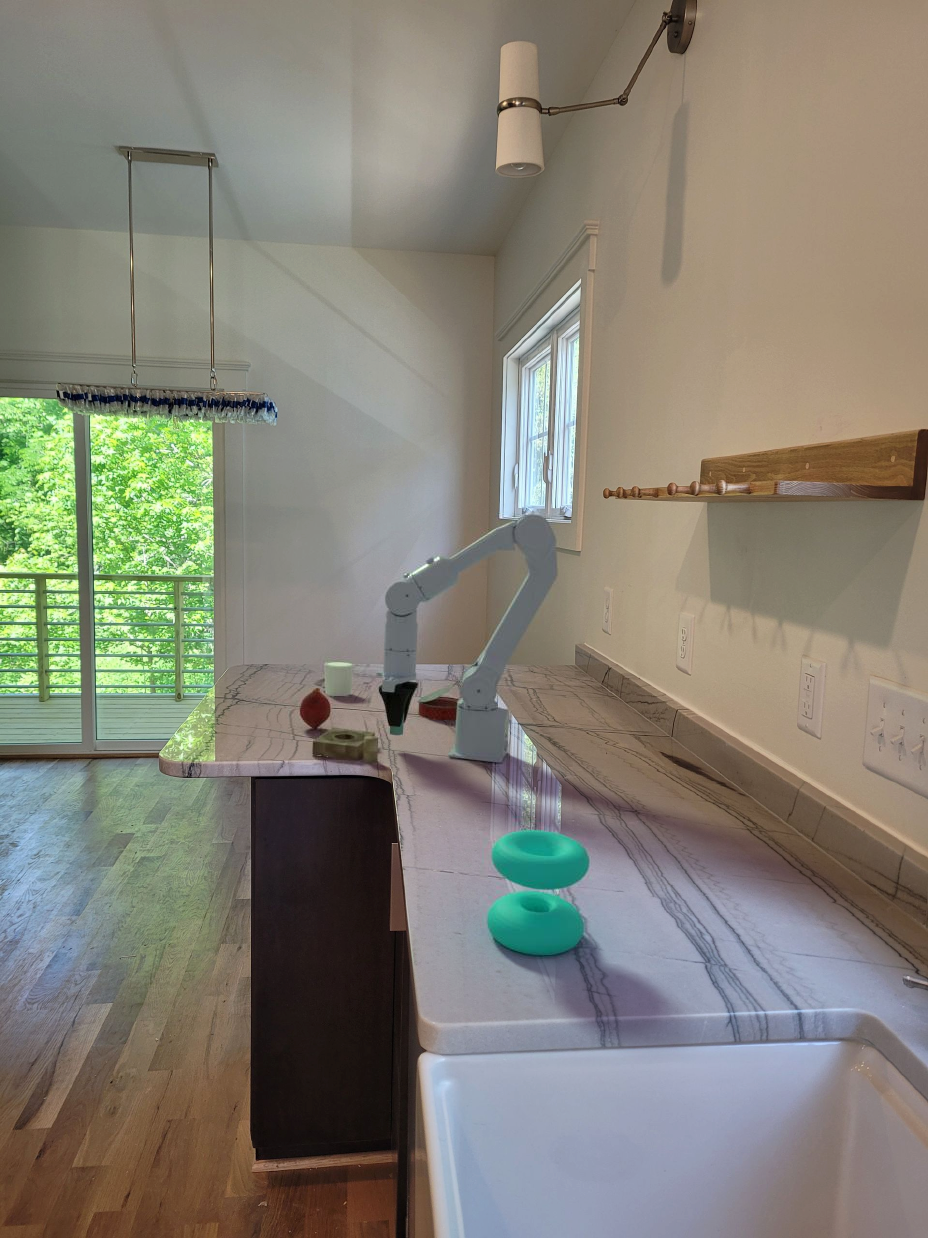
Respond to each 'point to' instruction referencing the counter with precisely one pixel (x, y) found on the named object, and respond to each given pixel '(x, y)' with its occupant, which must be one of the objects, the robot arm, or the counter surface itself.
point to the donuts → (537, 892)
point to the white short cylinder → (338, 678)
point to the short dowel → (370, 749)
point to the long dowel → (397, 729)
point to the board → (341, 744)
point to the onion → (315, 708)
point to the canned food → (438, 705)
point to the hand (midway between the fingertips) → (396, 724)
